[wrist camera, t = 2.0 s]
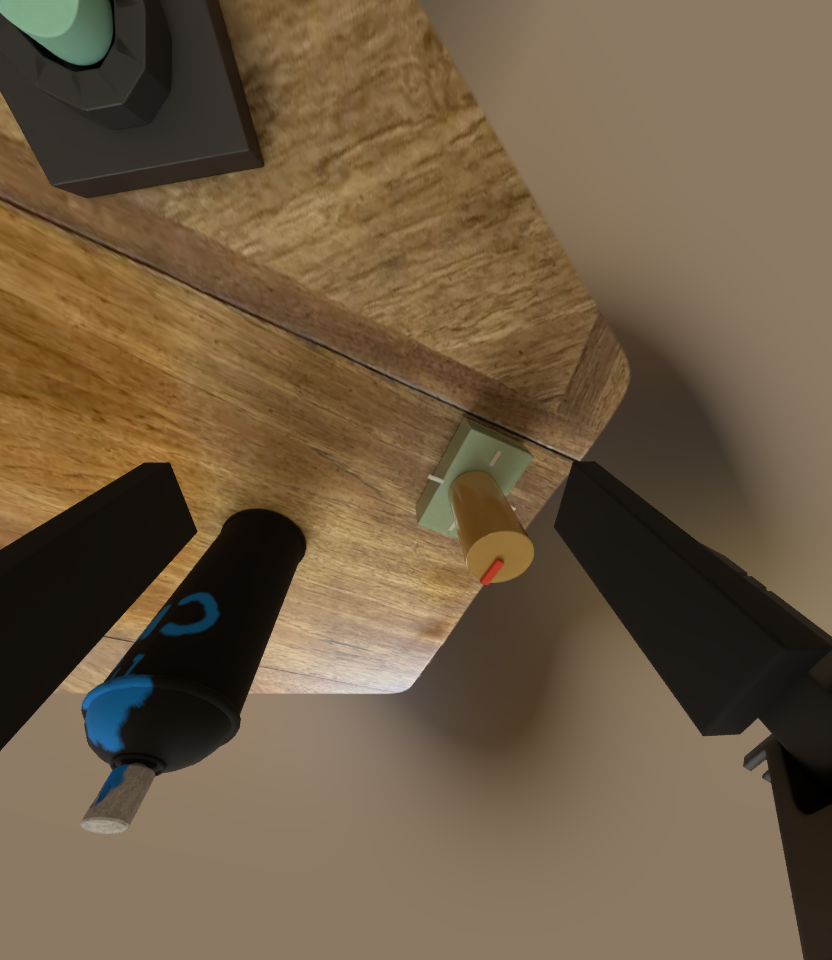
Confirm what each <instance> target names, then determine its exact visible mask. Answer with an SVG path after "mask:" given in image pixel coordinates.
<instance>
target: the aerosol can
mask: <svg viewBox="0 0 832 960" xmlns="http://www.w3.org/2000/svg"><path fill="white" fill-rule="evenodd" d="M305 550H306V544H305V539H304V536H303V534H302V533H301V531H300V529H299V528H298V527H297V526H296V525H295V524H294V523H293V522H292V521H290V520H289V519H287V518H286V517H284V516H282V515H280V514H277V513H275V512H272V511H267V510H258V509H254V510H246V511H242V512H239V513H237V514H235V515H233V516H231V517H230V518H229V519H228V520H227V521H226V522H225V524H224V525H223V527H222V530H221V533H220V534H219V536H218V537H217V538H216V540H215V541H214V542H213V543H212V545H211V546H210V547H209V548H208V550H207V551H206V552H205V554H204V555H203V556H202V557H201V559H200V560H199V561H198V563H197V564H196V565H195V566H194V568H193V569H192V570H191V571H190V573H189V574H188V575H187V577H186V578H185V579H184V580H183V582H182V583H181V584H180V585H179V587H178V588H177V589H176V591H175V592H174V593H173V594H172V596H171V597H170V598H169V599H168V601H167V602H166V603H165V605H164V606H163V607H162V608H161V610H160V611H159V612H158V614H157V615H156V616H155V617H154V619H153V620H152V621H151V622H150V624H149V625H148V626H147V628H146V629H145V630H144V631H143V633H142V634H141V635H140V636H139V638H138V639H137V640H136V642H135V643H134V644H133V645H132V647H131V648H130V649H129V650H128V652H127V653H126V654H125V656H124V657H123V658H122V659H121V661H120V662H119V663H118V665H117V666H116V667H115V668H114V670H113V671H112V672H111V673H110V675H109V676H108V677H107V679H106V680H105V681H104V682H103V683H102V684H100V685H98V686H97V687H95V688H94V689H93V690H91V691H90V692H89V693H88V694H87V696H86V697H85V699H84V700H83V703H82V710H81V711H82V714H83V717H84V720H85V725H84V726H85V732H86V737H87V742H88V744H89V746H90V747H91V749H92V750H93V751H94V752H95V753H96V754H97V755H98V757H99V758H101V759H102V760H103V761H104V762H106V763H108V764H110V767H111V768H112V772H111V774H110V776H109V777H108V779H107V780H106V782H105V783H104V785H103V787H102V789H101V791H100V792H99V794H98V796H97V797H96V799H95V801H94V802H93V803H92V805H91V806H90V808H89V809H88V811H87V813H86V814H85V816H84V818H83V819H82V821H81V827H82V828H83V829H85V830H87V831H91V832H95V833H104V834H113V833H120V832H122V831H125V830H126V829H127V828H129V826H130V824H131V822H132V820H133V818H134V816H135V814H136V812H137V810H138V808H139V806H140V805H141V803H142V801H143V799H144V797H145V795H146V793H147V791H148V789H149V787H150V785H151V783H152V781H153V779H154V777H155V776H158V775H160V774H162V773H167V772H172V771H176V770H179V769H182V768H185V767H188V766H191V765H194V764H196V763H198V762H200V761H201V760H203V759H204V758H205V757H207V756H208V755H210V754H211V753H213V752H214V751H215V750H216V749H217V748H219V747H220V746H222V745H224V744H225V743H227V742H229V741H230V740H231V739H232V738H233V737H234V736H235V735H236V733H237V732H238V730H239V728H240V721H241V718H240V713H241V710H242V708H243V705H244V702H245V700H246V697H247V695H248V692H249V690H250V687H251V685H252V682H253V679H254V677H255V674H256V672H257V669H258V666H259V664H260V661H261V659H262V656H263V653H264V651H265V648H266V646H267V643H268V641H269V638H270V635H271V633H272V630H273V628H274V625H275V622H276V620H277V617H278V615H279V612H280V609H281V607H282V604H283V602H284V599H285V596H286V594H287V591H288V589H289V586H290V584H291V581H292V578H293V576H294V573H295V571H296V568H297V565H298V564H299V562H300V561H301V560H302V558H303V557H304V555H305Z"/></svg>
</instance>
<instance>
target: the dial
mask: <svg viewBox="0 0 832 960" xmlns="http://www.w3.org/2000/svg"><path fill="white" fill-rule="evenodd" d="M448 501H449V504H450V508H451V512H452V515H453V519H454V523H455V526H456V530H457V534H458V537H459V541H460V545H461V548H462V552H463V556H464V559H465V563H466V566H467V569H468V571H469V572H470V573H471V574H472V575H473V576H474V577H475V578H477V579H479V580H480V583H481V584H484V585H488V584H489V583H490V582H491V583H496V582H504V581H508V580H511V579H513V578H515V577H517V576H519V575H520V574H522V573H523V572H524V571H525V570H526V569H527V568H528V567H529V566H530V564H531V562H532V560H533V557H534V546H533V544H532V542H531V540H530V538H529V537H528V535H527V533H526V531H525V530H524V528H523V526H522V524H521V523H520V521H519V519H518V518H517V516H516V514H515V512H514V511H513V509H512V507H511V505H510V504H509V502H508V500H507V499H506V497H505V495H504V493H503V492H502V490H501V488H500V487H499V485H498V483H497V481H496V480H495V478H494V477H493V476H491V475H490V474H488V473H486V472H483V471H469V472H466V473H463V474H462V475H460V476H458V477H457V478H456V479H455V480H454V481H453V482H452V484H451V485H450V487H449V490H448Z"/></svg>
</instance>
